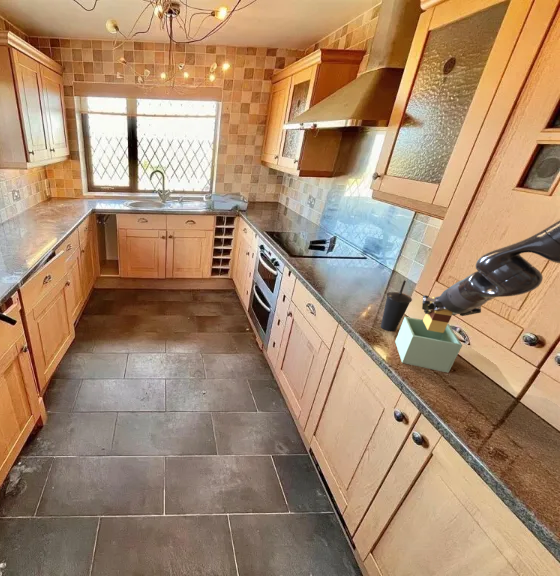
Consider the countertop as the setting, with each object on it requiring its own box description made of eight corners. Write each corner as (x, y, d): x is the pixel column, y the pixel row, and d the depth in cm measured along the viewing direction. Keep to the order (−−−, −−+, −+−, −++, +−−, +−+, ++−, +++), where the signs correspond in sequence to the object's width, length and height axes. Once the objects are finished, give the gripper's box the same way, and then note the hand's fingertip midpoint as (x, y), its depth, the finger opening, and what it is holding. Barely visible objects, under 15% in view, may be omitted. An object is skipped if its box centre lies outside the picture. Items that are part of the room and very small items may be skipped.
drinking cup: (377, 331, 115) (393, 283, 106) (375, 320, 121) (390, 274, 112) (401, 335, 112) (420, 287, 103) (398, 325, 118) (415, 278, 110)
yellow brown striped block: (437, 323, 98) (448, 298, 94) (443, 333, 94) (455, 307, 89) (422, 320, 100) (432, 296, 96) (427, 330, 95) (438, 305, 91)
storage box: (436, 350, 105) (448, 324, 100) (448, 373, 95) (462, 345, 90) (395, 341, 109) (404, 316, 105) (401, 362, 99) (412, 335, 95)
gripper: (500, 287, 80) (464, 306, 95) (433, 278, 85) (409, 297, 100) (500, 314, 78) (463, 329, 93) (432, 303, 83) (407, 319, 98)
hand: (435, 312), depth 97 cm, fingers closed on yellow brown striped block, 4 cm apart
